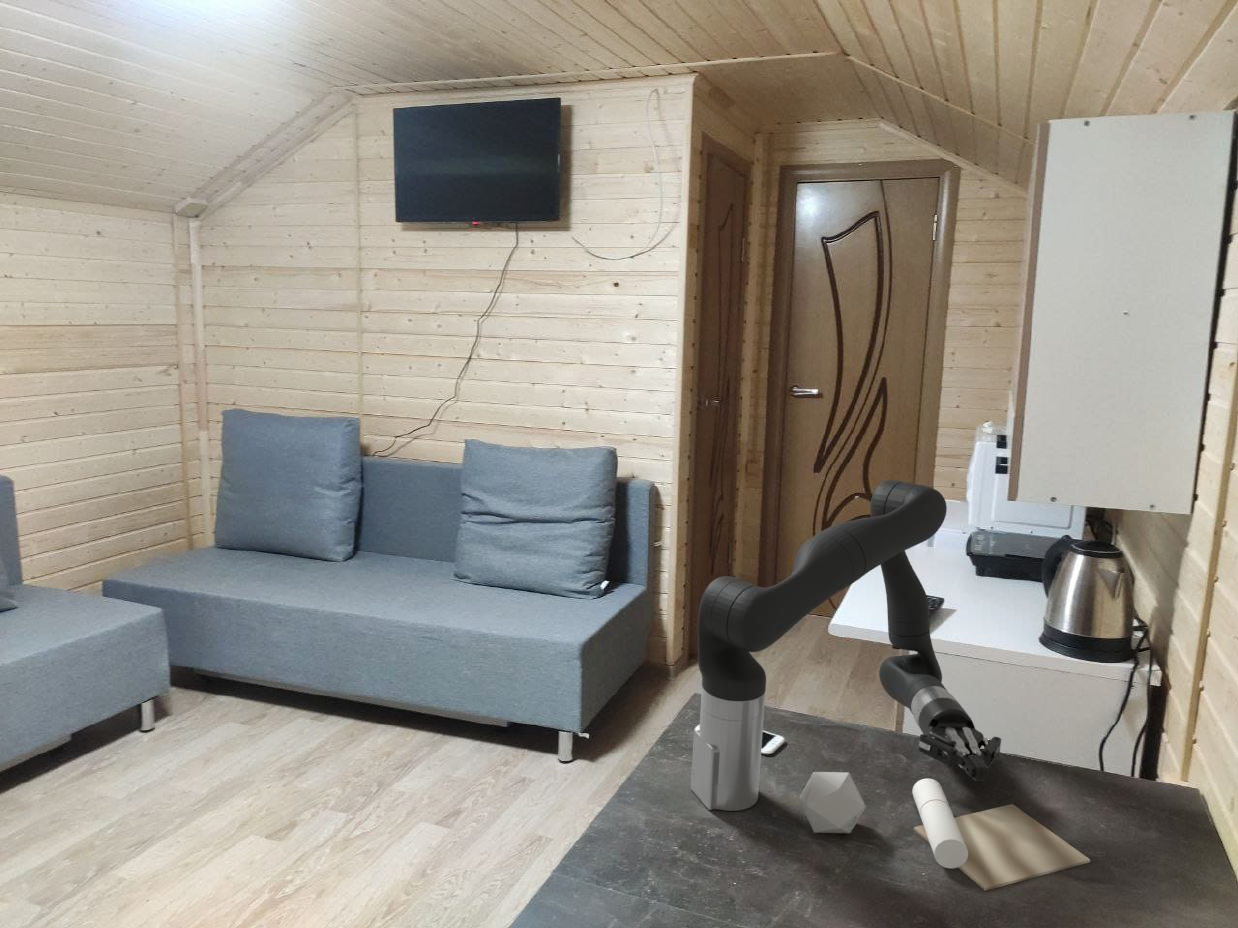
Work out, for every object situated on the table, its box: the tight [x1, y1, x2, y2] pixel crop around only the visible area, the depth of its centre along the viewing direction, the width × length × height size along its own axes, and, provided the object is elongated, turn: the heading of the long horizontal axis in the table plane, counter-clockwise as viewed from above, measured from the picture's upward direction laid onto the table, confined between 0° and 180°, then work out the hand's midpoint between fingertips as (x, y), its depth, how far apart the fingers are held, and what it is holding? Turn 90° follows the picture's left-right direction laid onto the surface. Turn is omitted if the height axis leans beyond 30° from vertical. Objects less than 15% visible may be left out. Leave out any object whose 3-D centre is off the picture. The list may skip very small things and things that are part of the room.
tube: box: [912, 777, 968, 870], centre depth 130 cm, size 4×4×15 cm
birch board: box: [913, 804, 1091, 892], centre depth 129 cm, size 18×14×1 cm
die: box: [798, 771, 867, 834], centre depth 131 cm, size 8×9×10 cm
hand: (981, 775), depth 134 cm, fingers closed
